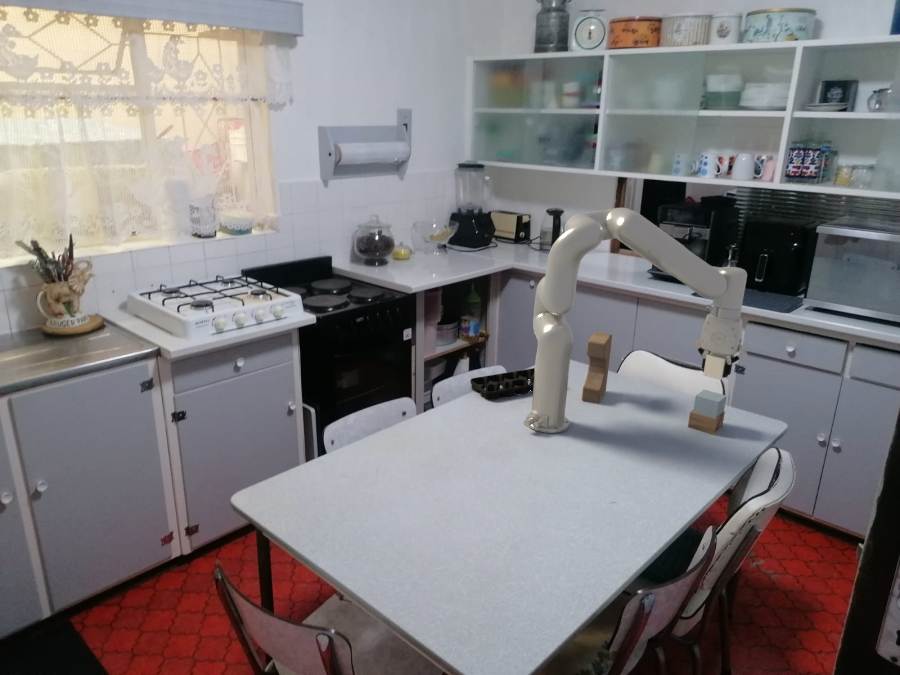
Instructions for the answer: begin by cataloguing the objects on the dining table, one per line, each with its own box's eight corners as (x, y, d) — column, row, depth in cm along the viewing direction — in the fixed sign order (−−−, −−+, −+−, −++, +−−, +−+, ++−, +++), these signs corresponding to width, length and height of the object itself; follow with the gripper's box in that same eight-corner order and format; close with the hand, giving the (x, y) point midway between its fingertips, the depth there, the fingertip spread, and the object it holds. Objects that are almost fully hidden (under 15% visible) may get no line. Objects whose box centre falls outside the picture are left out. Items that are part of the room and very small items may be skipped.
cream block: (721, 380, 182) (724, 359, 180) (703, 375, 185) (706, 355, 183) (727, 375, 185) (730, 355, 183) (709, 370, 188) (712, 351, 186)
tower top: (715, 418, 184) (718, 402, 183) (693, 411, 188) (695, 395, 187) (723, 411, 189) (726, 395, 188) (701, 405, 193) (704, 389, 192)
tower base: (713, 435, 185) (716, 419, 184) (687, 427, 190) (690, 412, 188) (722, 427, 191) (725, 411, 189) (696, 419, 195) (699, 404, 194)
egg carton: (566, 387, 217) (567, 377, 215) (500, 409, 198) (500, 397, 197) (528, 372, 229) (529, 362, 228) (463, 390, 211) (463, 380, 210)
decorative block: (598, 404, 203) (605, 343, 197) (580, 400, 205) (586, 340, 199) (606, 392, 213) (613, 334, 207) (589, 389, 215) (595, 331, 209)
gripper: (690, 308, 182) (681, 369, 187) (753, 321, 171) (742, 385, 177) (699, 303, 187) (690, 363, 193) (762, 315, 177) (750, 378, 182)
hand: (715, 373), depth 185 cm, fingers closed on cream block, 5 cm apart
